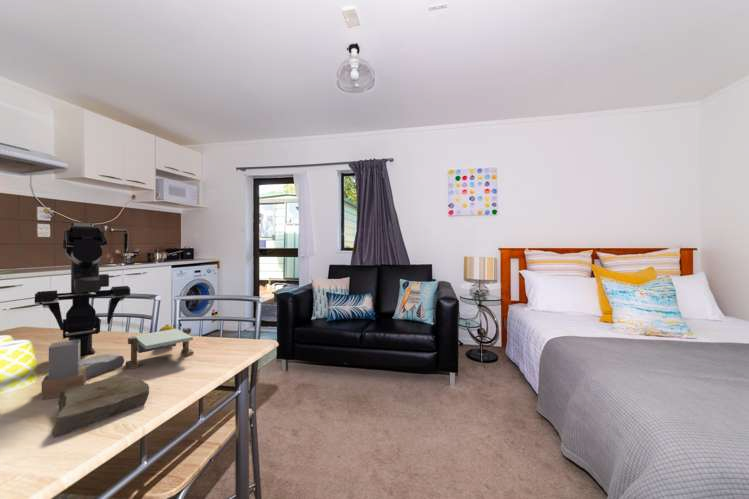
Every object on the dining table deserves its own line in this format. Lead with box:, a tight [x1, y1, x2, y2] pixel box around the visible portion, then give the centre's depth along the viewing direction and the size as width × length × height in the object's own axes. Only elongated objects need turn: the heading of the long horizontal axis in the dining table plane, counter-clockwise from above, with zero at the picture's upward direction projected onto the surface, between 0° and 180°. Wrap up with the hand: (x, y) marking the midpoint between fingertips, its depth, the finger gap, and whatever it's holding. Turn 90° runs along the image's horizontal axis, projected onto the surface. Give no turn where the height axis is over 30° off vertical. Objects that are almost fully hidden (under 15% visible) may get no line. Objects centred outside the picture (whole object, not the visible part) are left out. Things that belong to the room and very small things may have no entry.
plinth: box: [41, 367, 87, 401], centre depth 76 cm, size 7×7×4 cm
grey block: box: [48, 339, 81, 380], centre depth 76 cm, size 5×5×8 cm
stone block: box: [80, 353, 125, 380], centre depth 89 cm, size 12×5×10 cm
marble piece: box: [52, 375, 150, 437], centre depth 68 cm, size 17×15×4 cm
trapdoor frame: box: [125, 327, 194, 370], centre depth 98 cm, size 5×17×8 cm, turn 139°
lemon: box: [158, 324, 176, 332], centre depth 110 cm, size 6×6×8 cm
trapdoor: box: [132, 328, 194, 354], centre depth 97 cm, size 15×12×5 cm
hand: (86, 327), depth 84 cm, fingers open, 9 cm apart
